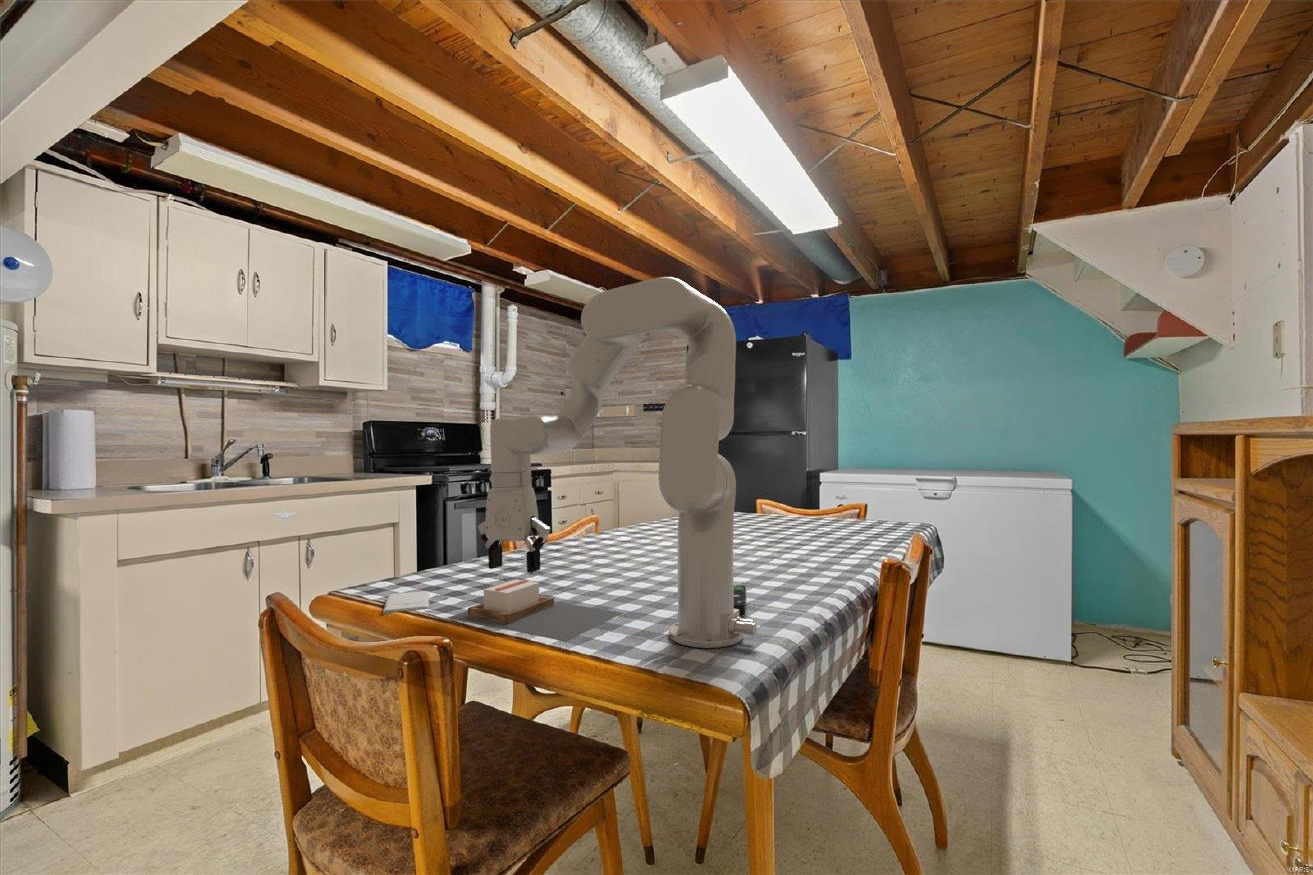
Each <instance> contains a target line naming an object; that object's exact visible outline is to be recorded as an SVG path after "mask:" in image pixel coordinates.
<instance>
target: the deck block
mask: <svg viewBox="0 0 1313 875" xmlns="http://www.w3.org/2000/svg"><path fill="white" fill-rule="evenodd" d="M539 596H540V582H536V581H531V580H530V581H529V580H524V579H523V580H522V579H514V580H509V581H506V582H504V583H499V584H497V585H494V586H490V587H487V588H484V589H483V603H484V609H485V610H491V611H497V612H502V613H511V612H513V611H516V610H519V609H521V608H524V607H527V606H529V605H532V604H535V603H537V602H539Z"/></svg>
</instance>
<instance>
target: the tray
mask: <svg viewBox="0 0 1313 875" xmlns="http://www.w3.org/2000/svg"><path fill="white" fill-rule="evenodd" d="M554 602H555V598H554V597H550V596H543V595H539V602H537V603H535V604H532V605H529V606H527V607H524V608H521V609H519V610H516V611H513V612H511V613H502V612H497V611H491V610H485V609H484V602H482V603H479V604H475V605H473V606H470V607H468V608H467V611H468V617H473V618H479V619H484V620H489V621H495V622H500V623H505V624H510V623H512V622H515V621H517V620H520V619H522V618H525V617H527V616H530V615H533V614H535V613H538V612H540V611H543V610H545V609H548V608H550V607H553V606H554Z"/></svg>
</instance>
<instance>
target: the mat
mask: <svg viewBox="0 0 1313 875" xmlns="http://www.w3.org/2000/svg"><path fill="white" fill-rule="evenodd" d="M623 614H624V612H622V611H615V610H608V609H602V608H597V607H588V606H582V605H577V604H576V605H575V604H569V603H564V602H559V601H557V602H556V601H554V606H553V607H550V608H548V609H545V610H543V611H540V612H538V613H535V614H533V615H530V616H527V617H525V618H522V619H520V620H517V621H515V622H512V623H510V624H505V623H500V622H495V621H489V620H484V619H479V618H473V617H468V610H465V611H463V612H461V613H460V612H459V613H457V614H454V615H451V616H447V619H450V620H454V621H461V622H466V623H471V624H475V625H481V626H486V627H492V628H496V629H500V630H506V631H512V632H517V633H523V634H528V635H532V636H537V637H542V638H549V639H553V640H559V641H564V642H568V641H570V640H572V639H574V638H576V637H578V636H579V635H582V634H584V633H586V632H588V631H590V630H592V629H594V628H597V627H598V626H601V625H602V624H604V623H606V622H608V621H610V620H612V619H613V620H614V619H615V618H617V617H619V616H621V615H623Z"/></svg>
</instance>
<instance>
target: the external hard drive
mask: <svg viewBox="0 0 1313 875" xmlns="http://www.w3.org/2000/svg"><path fill="white" fill-rule="evenodd" d="M429 603H430V591H428V590H423V591H422V590H421V591H412V592H402V593H401V592H400V593H391V594H388V596H387V599H386V602H385V605H384V608H383V613H382V614H383V616H387V615H390V614H394V613H397V612H407V611H417V610H428V609H429Z"/></svg>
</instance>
